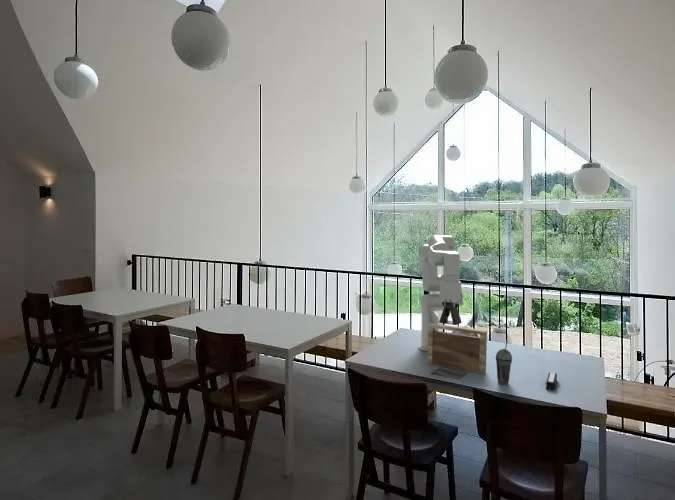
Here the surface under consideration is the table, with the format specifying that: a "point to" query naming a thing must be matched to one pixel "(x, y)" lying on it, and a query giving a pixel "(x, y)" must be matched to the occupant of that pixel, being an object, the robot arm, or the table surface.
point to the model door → (456, 350)
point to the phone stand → (454, 315)
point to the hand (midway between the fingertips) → (450, 316)
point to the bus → (551, 381)
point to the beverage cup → (503, 365)
